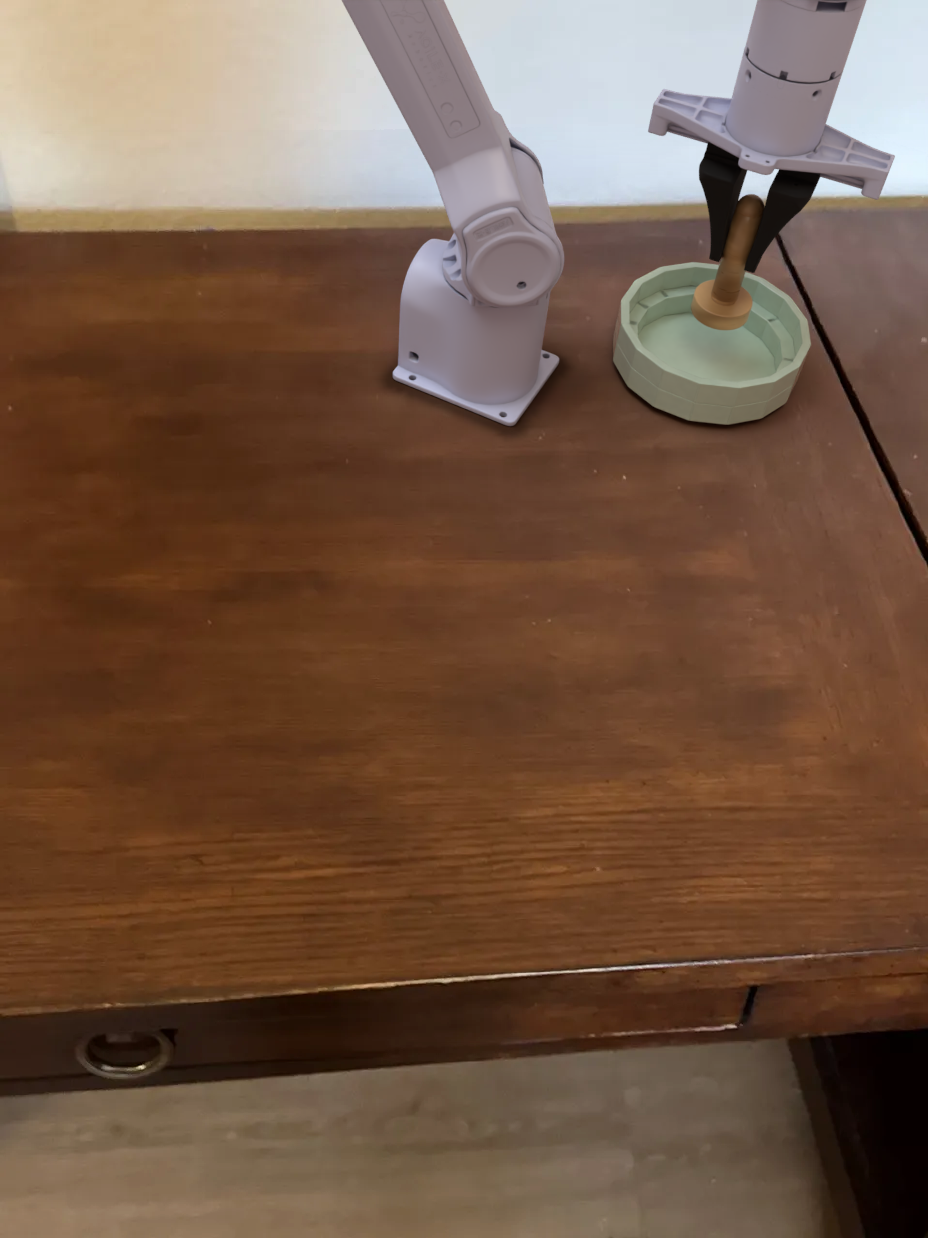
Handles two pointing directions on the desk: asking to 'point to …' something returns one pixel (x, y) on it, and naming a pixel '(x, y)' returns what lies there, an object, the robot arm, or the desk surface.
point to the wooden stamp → (731, 272)
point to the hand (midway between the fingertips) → (735, 257)
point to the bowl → (708, 348)
